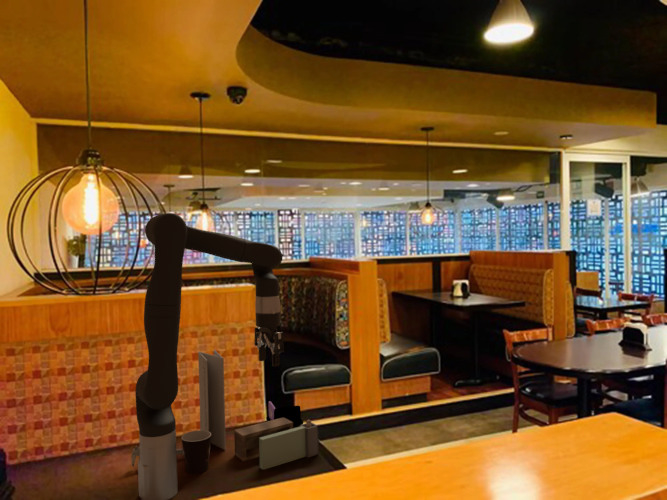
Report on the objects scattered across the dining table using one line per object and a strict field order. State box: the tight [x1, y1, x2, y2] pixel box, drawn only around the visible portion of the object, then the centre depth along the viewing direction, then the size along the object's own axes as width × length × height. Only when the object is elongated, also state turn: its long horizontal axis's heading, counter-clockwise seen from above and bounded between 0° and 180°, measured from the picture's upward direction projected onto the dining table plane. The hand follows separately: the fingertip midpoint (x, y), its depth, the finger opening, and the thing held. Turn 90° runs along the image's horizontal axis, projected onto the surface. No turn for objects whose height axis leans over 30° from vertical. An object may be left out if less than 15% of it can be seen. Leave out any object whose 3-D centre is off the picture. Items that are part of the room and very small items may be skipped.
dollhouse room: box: [266, 400, 304, 427], centre depth 190 cm, size 12×12×7 cm
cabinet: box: [233, 417, 312, 462], centre depth 160 cm, size 20×15×11 cm
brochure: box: [197, 349, 227, 451], centre depth 170 cm, size 14×6×30 cm, turn 25°
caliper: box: [130, 445, 184, 467], centre depth 157 cm, size 20×1×6 cm, turn 117°
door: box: [259, 421, 320, 471], centre depth 156 cm, size 19×4×9 cm, turn 126°
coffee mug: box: [180, 430, 212, 475], centre depth 153 cm, size 12×9×10 cm
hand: (269, 363), depth 155 cm, fingers open, 8 cm apart
